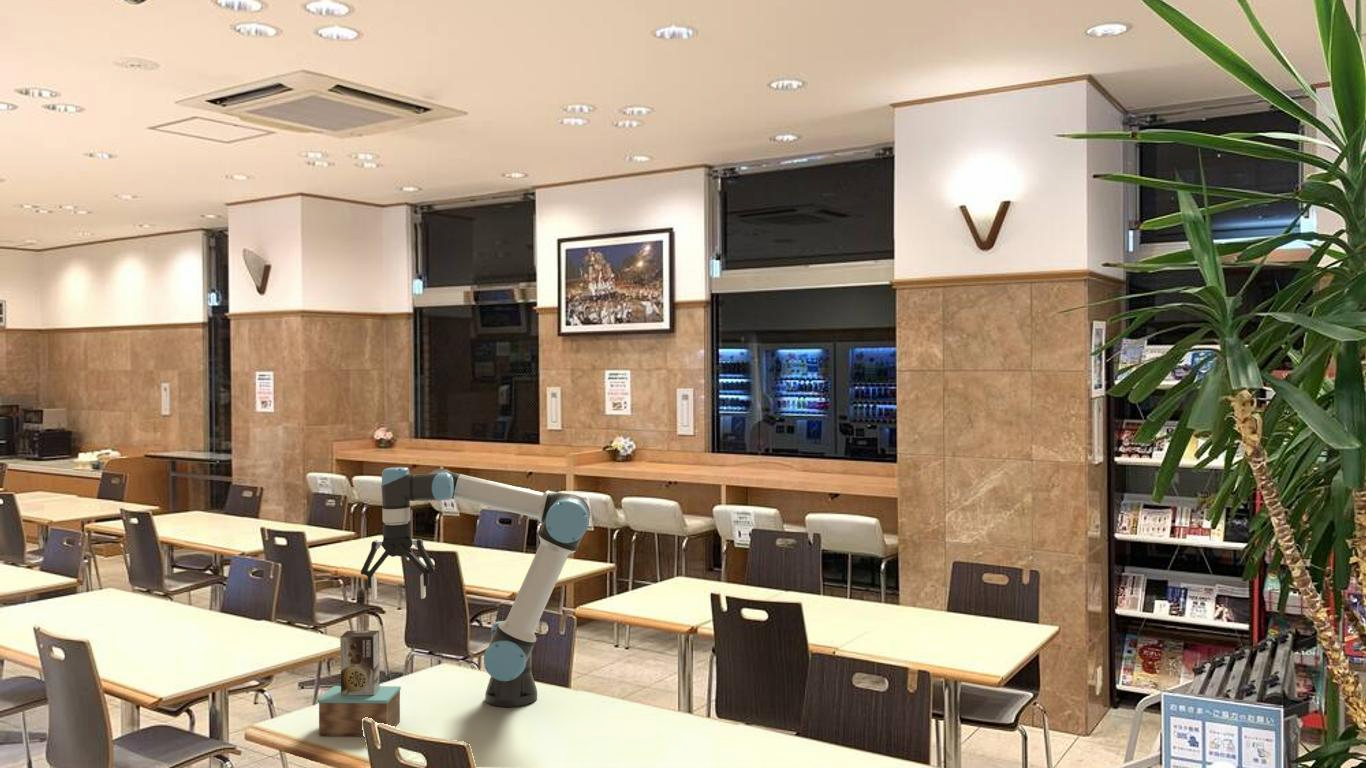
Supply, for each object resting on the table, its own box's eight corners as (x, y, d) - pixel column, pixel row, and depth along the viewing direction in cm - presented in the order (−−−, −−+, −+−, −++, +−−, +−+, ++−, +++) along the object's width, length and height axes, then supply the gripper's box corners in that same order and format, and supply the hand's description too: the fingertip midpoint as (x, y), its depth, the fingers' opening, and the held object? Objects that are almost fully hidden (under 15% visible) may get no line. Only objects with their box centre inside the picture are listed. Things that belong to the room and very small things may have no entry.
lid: (400, 689, 289) (400, 686, 289) (387, 703, 276) (387, 700, 276) (334, 688, 289) (334, 685, 289) (317, 702, 277) (317, 699, 277)
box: (399, 721, 289) (399, 689, 289) (386, 736, 277) (386, 702, 277) (334, 721, 289) (335, 688, 289) (319, 736, 277) (319, 702, 277)
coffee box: (380, 688, 287) (380, 629, 286) (374, 696, 280) (374, 635, 280) (346, 688, 286) (346, 630, 286) (339, 696, 280) (339, 635, 280)
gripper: (444, 519, 298) (446, 594, 298) (355, 522, 297) (357, 597, 297) (438, 523, 291) (441, 599, 291) (347, 526, 290) (350, 602, 290)
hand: (399, 598), depth 294 cm, fingers open, 13 cm apart
